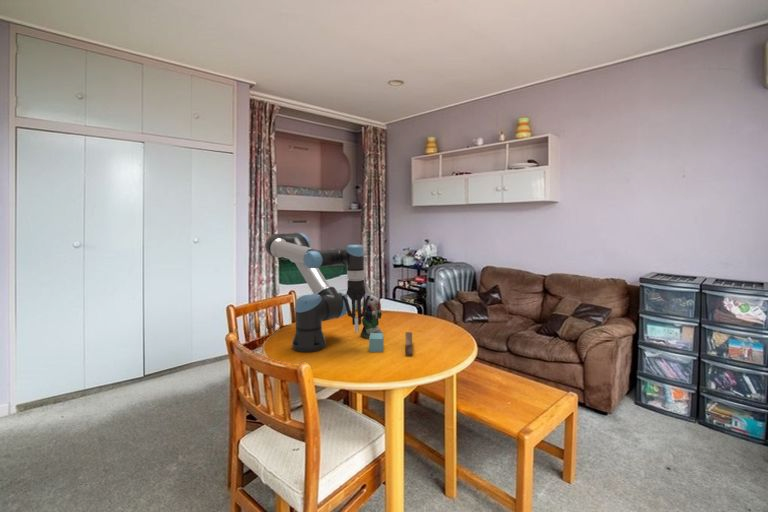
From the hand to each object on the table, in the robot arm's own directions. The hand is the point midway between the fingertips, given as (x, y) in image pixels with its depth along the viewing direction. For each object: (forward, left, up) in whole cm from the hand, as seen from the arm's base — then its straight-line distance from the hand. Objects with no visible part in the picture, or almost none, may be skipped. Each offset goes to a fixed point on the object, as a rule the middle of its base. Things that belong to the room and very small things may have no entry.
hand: (357, 331), depth 177 cm
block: (+9, 0, -8) cm, 12 cm away
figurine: (+5, +19, -8) cm, 21 cm away
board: (+23, 0, -8) cm, 24 cm away
